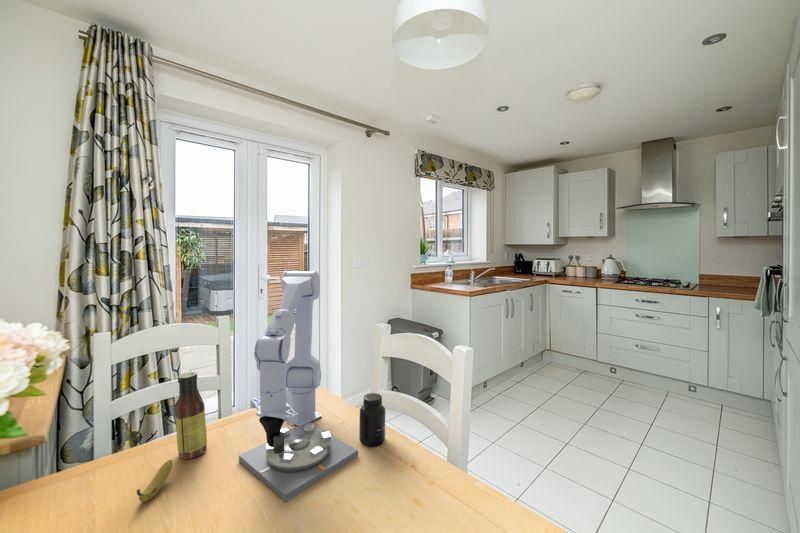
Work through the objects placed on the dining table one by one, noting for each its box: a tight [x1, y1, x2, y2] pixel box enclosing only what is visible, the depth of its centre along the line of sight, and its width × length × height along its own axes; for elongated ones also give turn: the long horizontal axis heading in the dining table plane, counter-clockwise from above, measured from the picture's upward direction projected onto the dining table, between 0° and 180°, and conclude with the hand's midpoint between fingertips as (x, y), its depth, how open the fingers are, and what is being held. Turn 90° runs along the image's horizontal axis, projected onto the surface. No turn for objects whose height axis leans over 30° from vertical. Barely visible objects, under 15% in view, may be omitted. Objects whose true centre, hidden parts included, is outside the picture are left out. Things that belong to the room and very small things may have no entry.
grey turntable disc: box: [266, 423, 332, 472], centre depth 84 cm, size 15×15×7 cm
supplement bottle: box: [358, 392, 386, 448], centre depth 91 cm, size 7×7×12 cm
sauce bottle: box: [174, 371, 208, 460], centre depth 85 cm, size 6×6×20 cm
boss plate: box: [238, 422, 359, 503], centre depth 84 cm, size 20×20×2 cm
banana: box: [135, 459, 174, 503], centre depth 72 cm, size 10×2×4 cm, turn 0°
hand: (273, 444), depth 80 cm, fingers closed
